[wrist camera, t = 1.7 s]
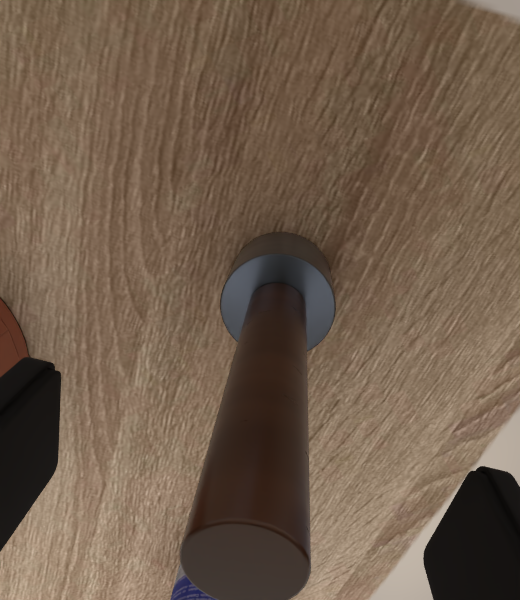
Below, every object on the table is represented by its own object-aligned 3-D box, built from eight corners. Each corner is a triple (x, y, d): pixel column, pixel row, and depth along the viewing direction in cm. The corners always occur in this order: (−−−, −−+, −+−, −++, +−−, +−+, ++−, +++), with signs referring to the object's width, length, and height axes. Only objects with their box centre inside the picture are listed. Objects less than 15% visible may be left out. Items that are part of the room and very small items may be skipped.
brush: (242, 220, 18) (125, 437, 6) (343, 245, 18) (423, 508, 6) (223, 311, 20) (105, 613, 8) (315, 333, 20) (334, 667, 8)
